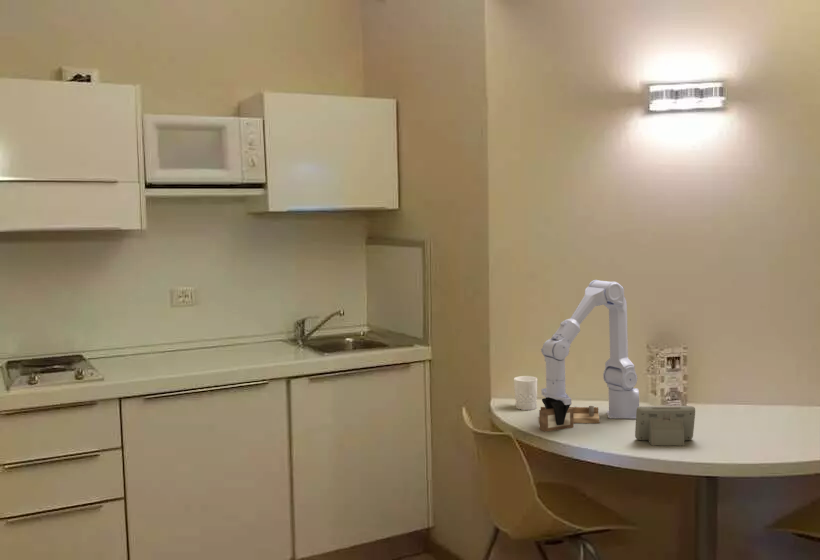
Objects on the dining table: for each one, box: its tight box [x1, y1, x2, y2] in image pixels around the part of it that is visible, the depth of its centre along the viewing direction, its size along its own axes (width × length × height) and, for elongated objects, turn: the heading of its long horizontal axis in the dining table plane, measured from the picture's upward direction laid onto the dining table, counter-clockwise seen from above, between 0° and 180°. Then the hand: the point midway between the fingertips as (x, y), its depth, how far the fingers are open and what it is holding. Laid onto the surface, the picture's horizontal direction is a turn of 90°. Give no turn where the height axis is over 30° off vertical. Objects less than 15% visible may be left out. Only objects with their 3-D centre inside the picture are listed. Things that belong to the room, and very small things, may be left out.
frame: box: [538, 406, 575, 433], centre depth 242 cm, size 10×3×6 cm, turn 110°
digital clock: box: [634, 405, 696, 446], centre depth 225 cm, size 16×9×11 cm, turn 72°
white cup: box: [513, 375, 538, 411], centre depth 267 cm, size 8×8×10 cm
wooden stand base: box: [540, 405, 600, 424], centre depth 251 cm, size 18×7×4 cm, turn 80°
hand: (556, 423), depth 242 cm, fingers open, 4 cm apart
